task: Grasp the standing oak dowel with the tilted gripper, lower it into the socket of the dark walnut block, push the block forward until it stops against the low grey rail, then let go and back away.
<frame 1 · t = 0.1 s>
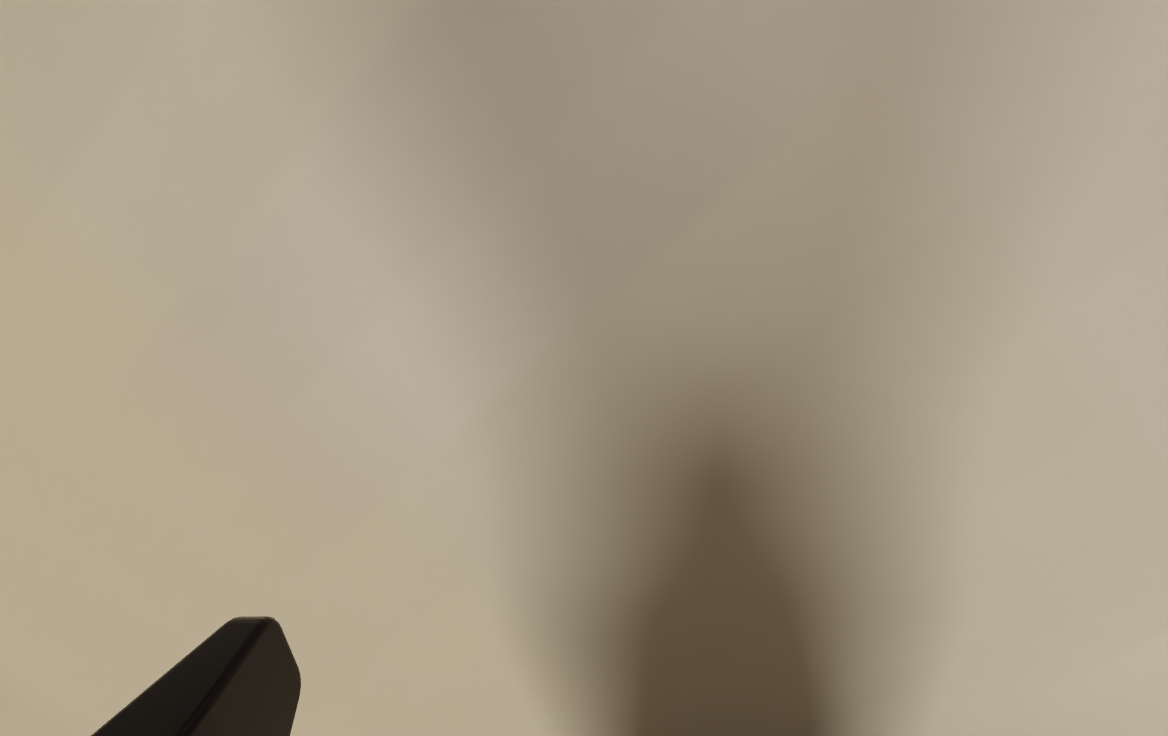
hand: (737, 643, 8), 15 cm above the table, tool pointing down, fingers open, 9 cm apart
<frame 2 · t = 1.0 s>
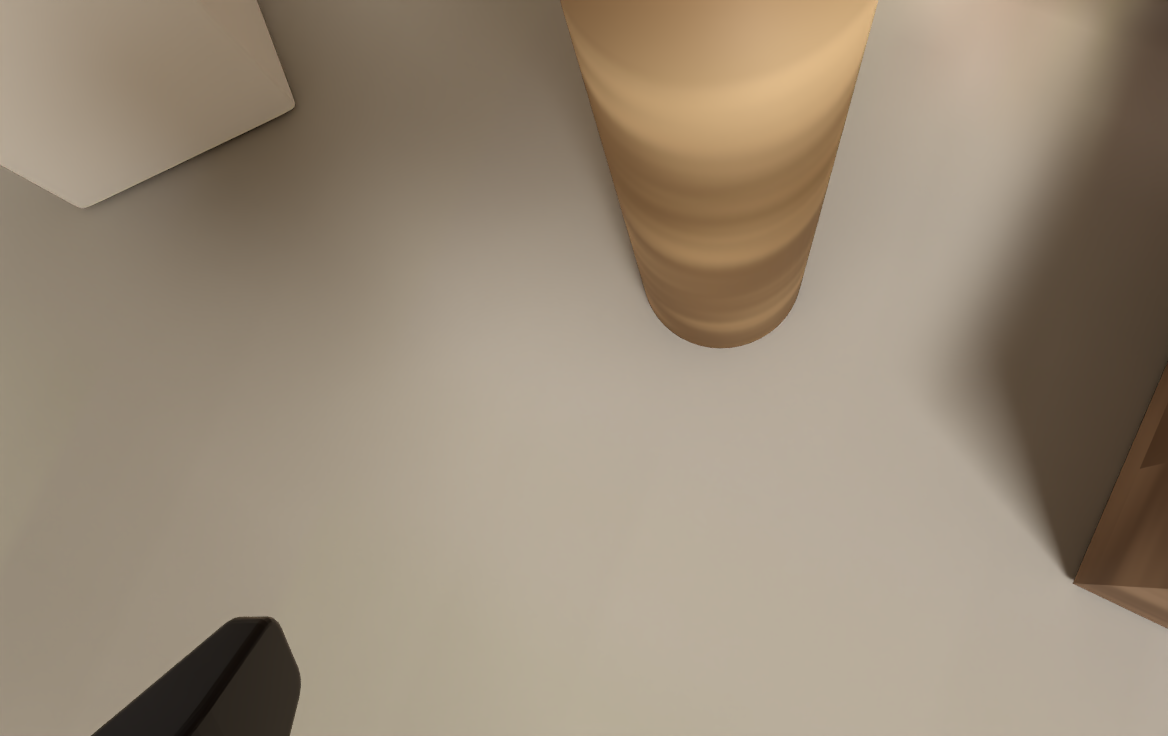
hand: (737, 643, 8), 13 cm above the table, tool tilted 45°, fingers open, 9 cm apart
dowel: (721, 272, 23), on the table
milk carton: (163, 68, 27), on the table
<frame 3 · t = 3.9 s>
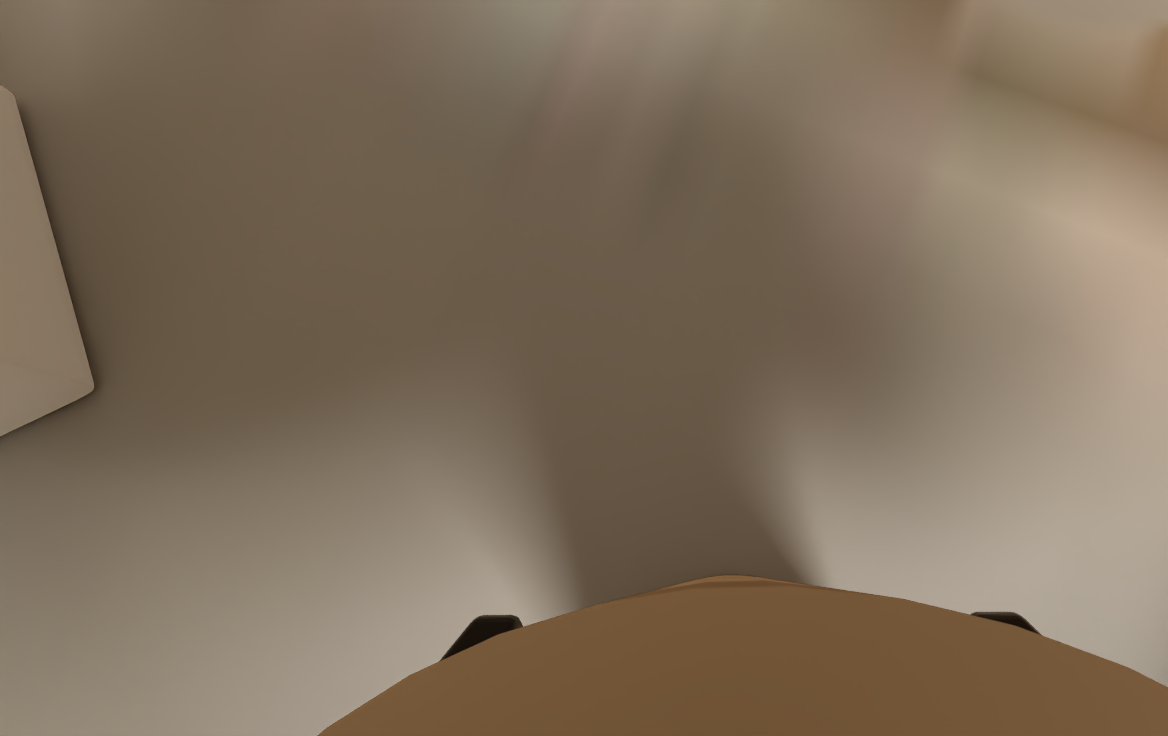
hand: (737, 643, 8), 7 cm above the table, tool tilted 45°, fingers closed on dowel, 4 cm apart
dowel: (736, 702, 14), on the table, touching gripper
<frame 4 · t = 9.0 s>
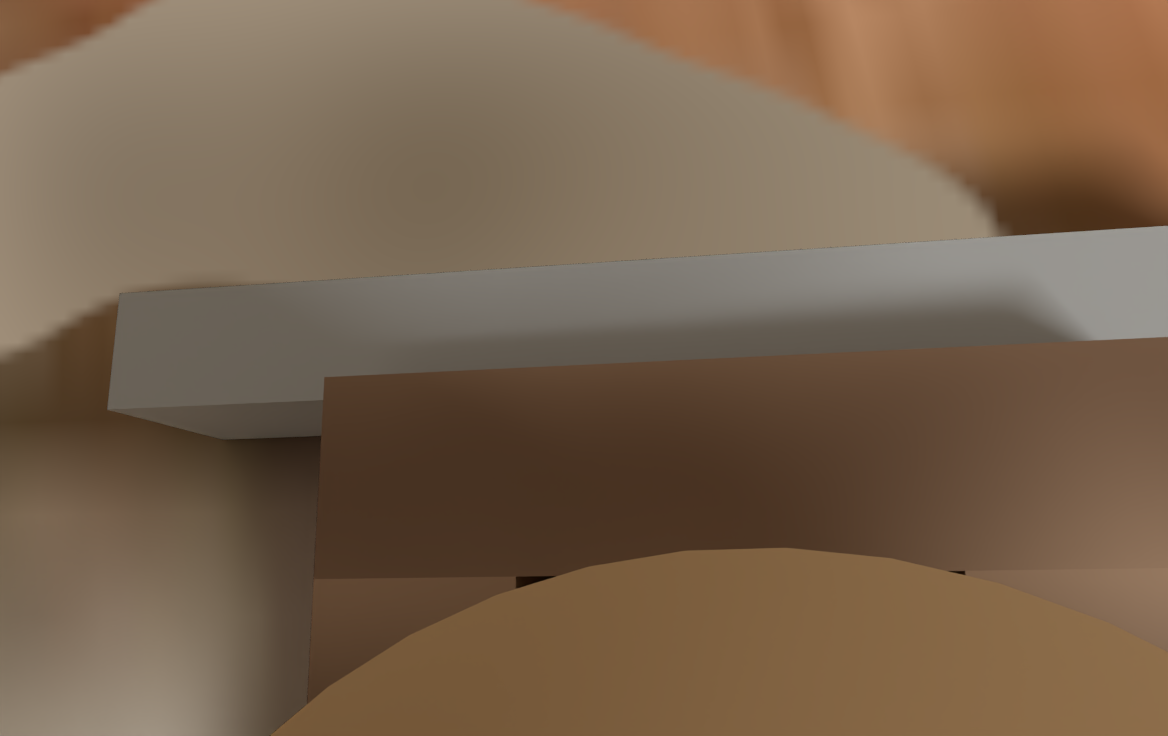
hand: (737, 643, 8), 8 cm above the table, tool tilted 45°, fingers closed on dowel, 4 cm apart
stop rail: (720, 368, 17), on the table
dowel: (735, 703, 14), point 1 cm above the table, touching gripper
when the fingers open (8 cm above the table, at t = 9.2 s): dowel stays where it is, resting on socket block.
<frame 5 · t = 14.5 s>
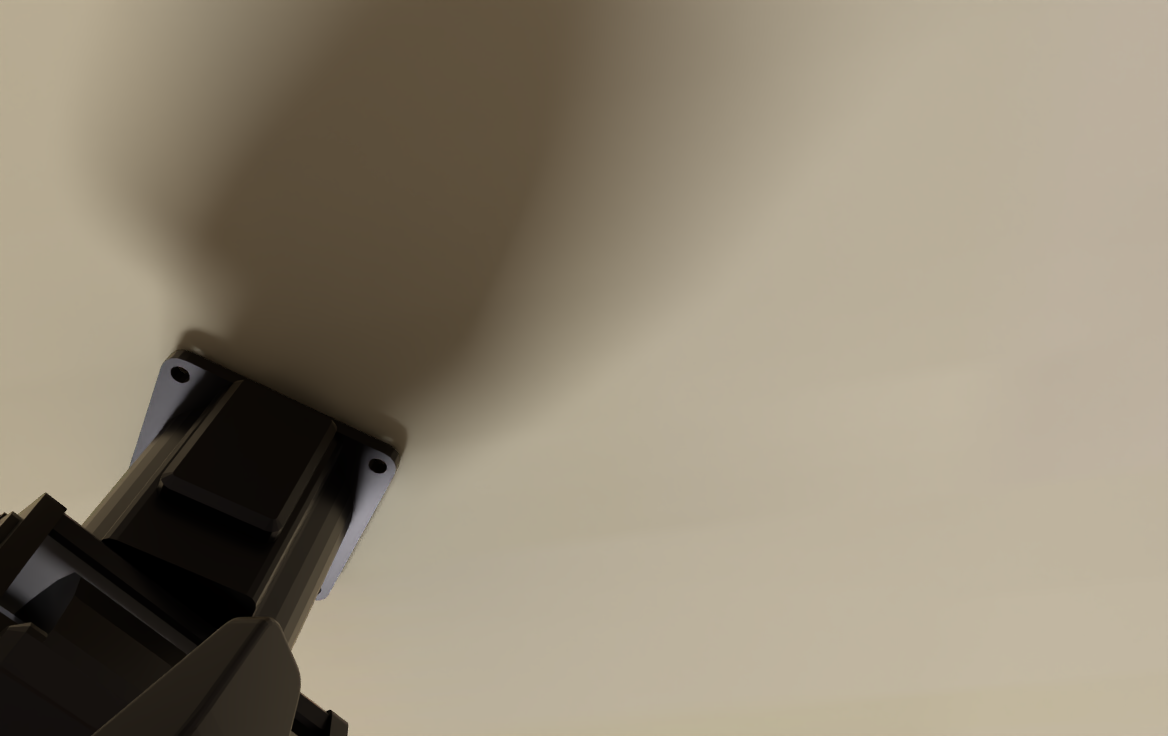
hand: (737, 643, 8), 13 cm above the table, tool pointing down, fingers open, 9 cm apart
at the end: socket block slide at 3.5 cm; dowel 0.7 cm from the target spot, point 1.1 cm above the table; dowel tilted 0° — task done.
